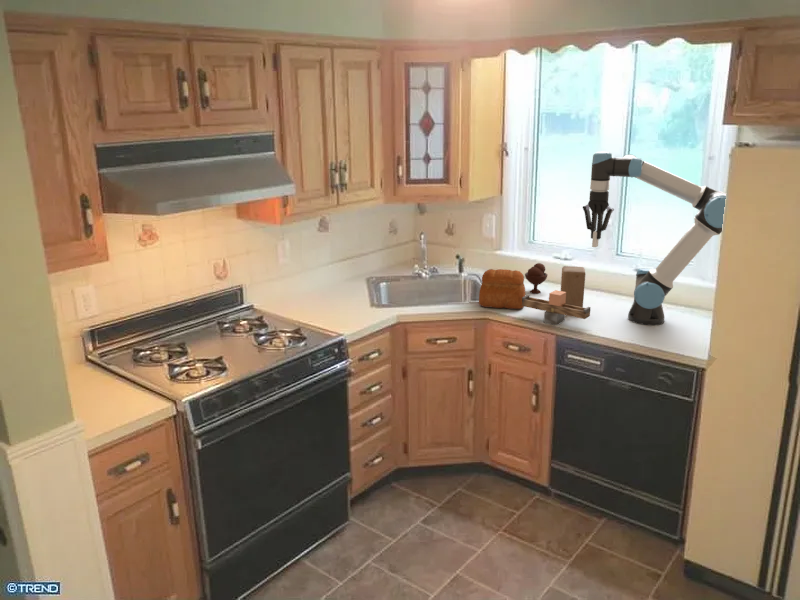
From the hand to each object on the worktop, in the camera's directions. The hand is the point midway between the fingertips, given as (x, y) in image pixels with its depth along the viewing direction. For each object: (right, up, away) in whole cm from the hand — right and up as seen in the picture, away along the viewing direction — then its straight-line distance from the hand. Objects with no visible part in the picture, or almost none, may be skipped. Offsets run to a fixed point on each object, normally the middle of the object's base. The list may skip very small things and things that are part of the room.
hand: (595, 246), depth 288 cm
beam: (-14, -32, +13) cm, 37 cm away
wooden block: (-3, -28, +28) cm, 39 cm away
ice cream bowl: (-14, -19, +56) cm, 61 cm away
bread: (-34, -25, +37) cm, 56 cm away
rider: (-14, -25, +10) cm, 31 cm away
